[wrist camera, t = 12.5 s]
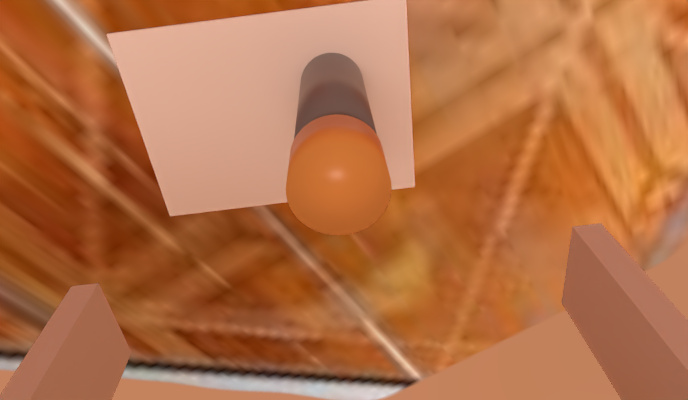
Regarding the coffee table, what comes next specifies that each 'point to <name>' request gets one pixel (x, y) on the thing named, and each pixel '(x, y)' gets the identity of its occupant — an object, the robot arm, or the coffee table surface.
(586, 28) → the coffee table surface
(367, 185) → the marker
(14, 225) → the coffee table surface
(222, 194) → the paper
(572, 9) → the coffee table surface
